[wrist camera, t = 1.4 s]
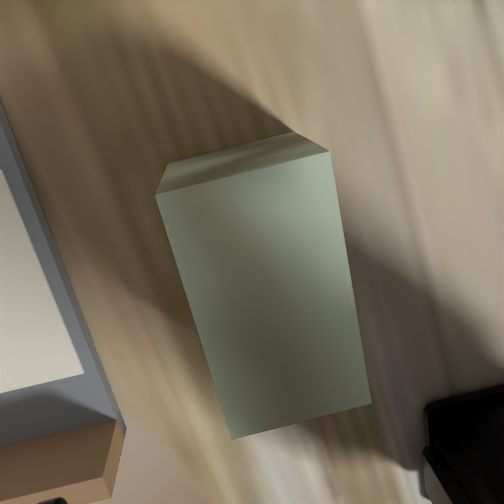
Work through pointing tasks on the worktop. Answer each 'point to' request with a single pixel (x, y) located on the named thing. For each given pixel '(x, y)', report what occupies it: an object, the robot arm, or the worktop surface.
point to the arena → (47, 362)
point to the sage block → (267, 280)
